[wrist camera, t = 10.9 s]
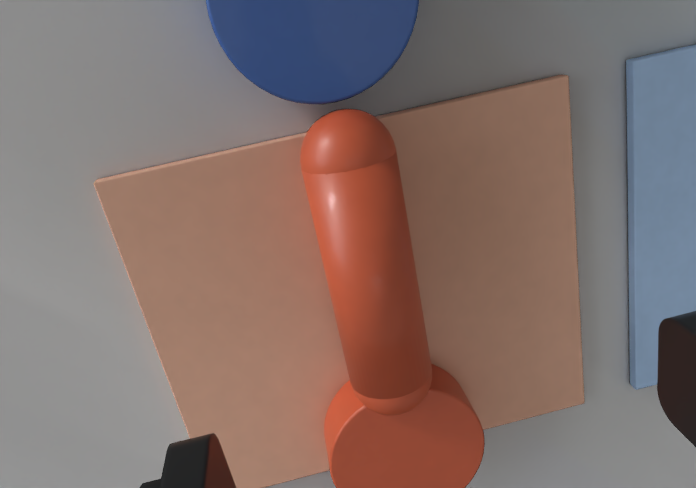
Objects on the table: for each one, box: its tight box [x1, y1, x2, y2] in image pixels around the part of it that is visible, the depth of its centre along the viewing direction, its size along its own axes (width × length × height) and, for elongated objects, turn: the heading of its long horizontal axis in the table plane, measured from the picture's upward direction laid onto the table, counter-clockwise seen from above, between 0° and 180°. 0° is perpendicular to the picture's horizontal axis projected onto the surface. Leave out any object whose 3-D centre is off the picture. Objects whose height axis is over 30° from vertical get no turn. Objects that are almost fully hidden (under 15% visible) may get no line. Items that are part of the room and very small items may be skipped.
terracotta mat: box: [94, 75, 584, 488], centre depth 19 cm, size 12×14×1 cm
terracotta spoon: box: [300, 109, 484, 488], centre depth 18 cm, size 14×5×3 cm, turn 11°
